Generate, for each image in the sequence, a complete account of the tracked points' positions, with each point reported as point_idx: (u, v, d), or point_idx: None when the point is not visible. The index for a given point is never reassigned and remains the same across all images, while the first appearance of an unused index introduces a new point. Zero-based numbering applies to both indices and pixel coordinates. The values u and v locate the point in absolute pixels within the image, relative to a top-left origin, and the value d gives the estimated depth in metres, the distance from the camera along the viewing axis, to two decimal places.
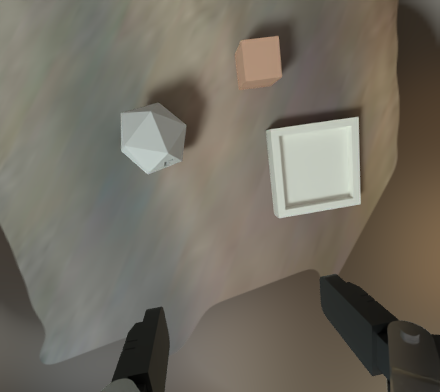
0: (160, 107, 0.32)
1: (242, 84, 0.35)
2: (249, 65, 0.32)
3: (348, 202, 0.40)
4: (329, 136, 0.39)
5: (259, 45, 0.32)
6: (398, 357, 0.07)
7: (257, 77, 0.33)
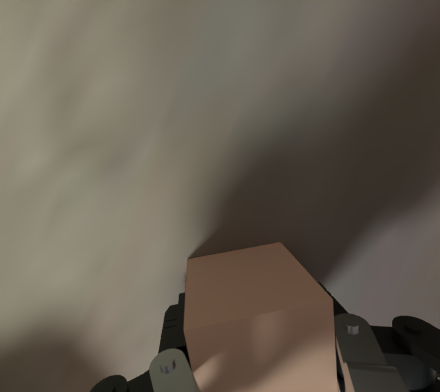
0: None
1: None
2: None
3: None
4: None
5: (258, 337, 0.08)
6: (347, 350, 0.08)
7: None
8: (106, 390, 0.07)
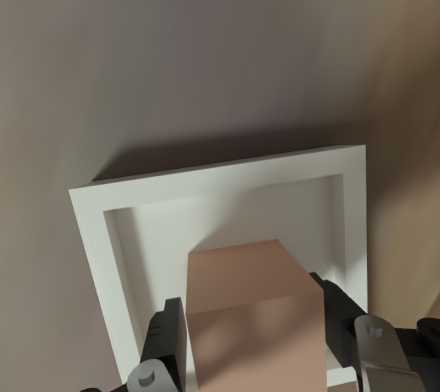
0: None
1: None
2: (217, 383, 0.09)
3: (334, 377, 0.15)
4: (279, 199, 0.13)
5: (253, 323, 0.09)
6: (367, 352, 0.08)
7: None
8: None
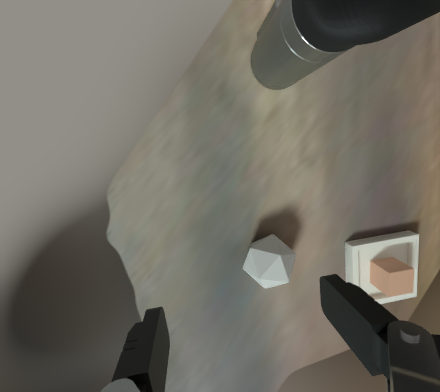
0: (277, 241, 0.43)
1: (380, 289, 0.48)
2: (392, 287, 0.46)
3: (407, 296, 0.51)
4: (394, 246, 0.50)
5: (400, 275, 0.45)
6: (398, 357, 0.07)
7: (396, 294, 0.46)
8: None
